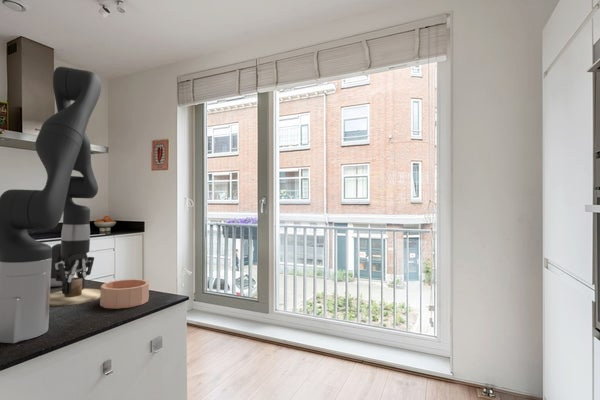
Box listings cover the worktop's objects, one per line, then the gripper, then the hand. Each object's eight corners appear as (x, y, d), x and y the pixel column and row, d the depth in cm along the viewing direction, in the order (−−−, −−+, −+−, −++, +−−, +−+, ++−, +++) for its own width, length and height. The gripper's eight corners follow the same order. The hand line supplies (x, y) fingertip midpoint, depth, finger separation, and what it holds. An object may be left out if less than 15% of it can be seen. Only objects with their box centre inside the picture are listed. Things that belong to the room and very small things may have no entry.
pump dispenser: (33, 286, 113) (35, 243, 113) (66, 280, 122) (67, 241, 122) (48, 290, 108) (50, 246, 108) (80, 284, 117) (82, 243, 118)
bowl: (131, 309, 91) (131, 290, 91) (89, 306, 92) (90, 288, 92) (156, 297, 104) (157, 280, 104) (120, 294, 105) (120, 278, 105)
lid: (75, 307, 91) (76, 286, 91) (26, 304, 93) (27, 283, 93) (113, 293, 107) (114, 275, 107) (71, 290, 109) (71, 272, 109)
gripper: (67, 241, 93) (64, 299, 93) (103, 236, 107) (100, 287, 107) (44, 240, 94) (42, 297, 94) (82, 235, 108) (80, 285, 108)
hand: (73, 291), depth 100 cm, fingers closed on lid, 4 cm apart
